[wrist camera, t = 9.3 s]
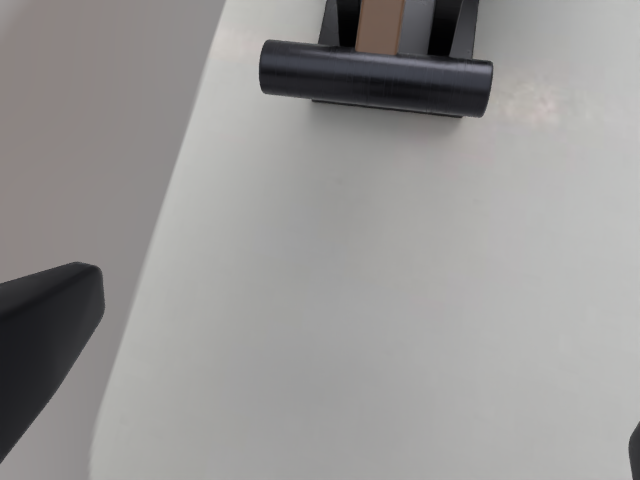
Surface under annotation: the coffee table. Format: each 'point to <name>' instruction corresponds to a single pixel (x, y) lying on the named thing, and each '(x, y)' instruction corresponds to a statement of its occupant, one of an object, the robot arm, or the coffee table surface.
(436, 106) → the lever
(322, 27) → the bracket
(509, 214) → the coffee table surface
